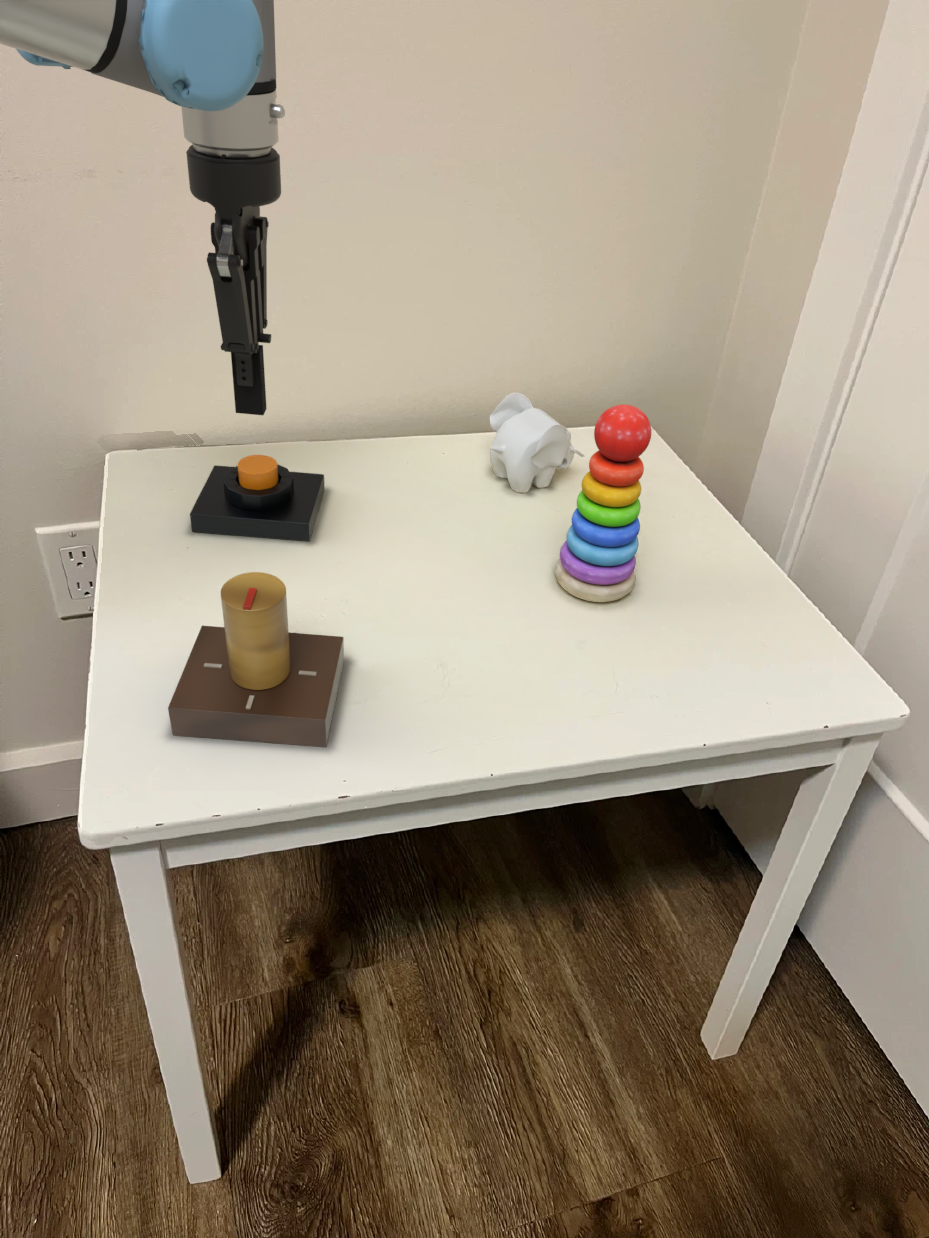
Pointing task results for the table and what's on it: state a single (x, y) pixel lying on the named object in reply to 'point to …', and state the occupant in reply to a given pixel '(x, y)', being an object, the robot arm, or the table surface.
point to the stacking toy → (607, 511)
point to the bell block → (259, 505)
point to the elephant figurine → (528, 444)
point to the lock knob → (256, 630)
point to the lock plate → (259, 694)
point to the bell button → (257, 472)
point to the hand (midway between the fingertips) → (251, 410)
